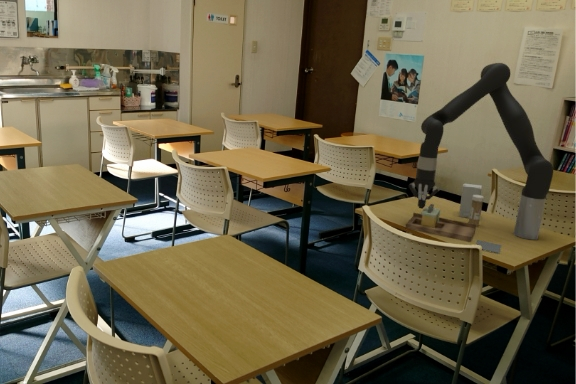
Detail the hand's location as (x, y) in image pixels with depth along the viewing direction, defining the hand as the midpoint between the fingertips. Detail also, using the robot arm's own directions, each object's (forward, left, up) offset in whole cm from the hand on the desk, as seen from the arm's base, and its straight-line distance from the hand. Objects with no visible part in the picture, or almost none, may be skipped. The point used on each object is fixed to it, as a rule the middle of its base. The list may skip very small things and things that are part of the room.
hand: (421, 207), depth 217 cm
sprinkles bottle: (-20, -17, -9) cm, 28 cm away
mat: (-28, +8, -8) cm, 30 cm away
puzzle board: (-9, +1, -8) cm, 12 cm away
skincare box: (-16, -30, -9) cm, 35 cm away
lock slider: (-4, 0, -6) cm, 7 cm away
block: (-4, +1, -8) cm, 9 cm away
